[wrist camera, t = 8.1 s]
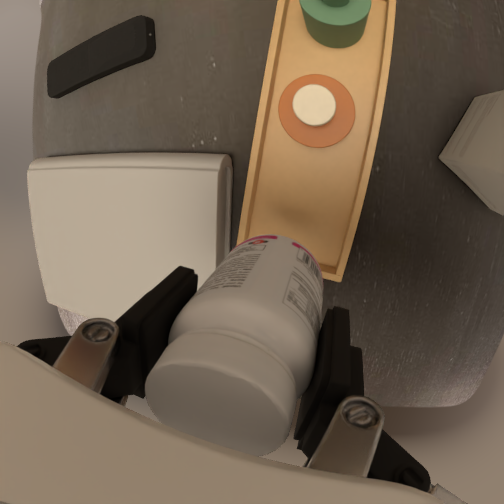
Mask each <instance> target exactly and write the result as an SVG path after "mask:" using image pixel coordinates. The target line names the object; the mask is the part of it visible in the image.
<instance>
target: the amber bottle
mask: <svg viewBox="0 0 504 504" xmlns="http://www.w3.org/2000/svg"><path fill="white" fill-rule="evenodd" d="M278 113H279V118H280V122H281V124H282V126H283V128H284V130H285V131H286V132H287V134H288V135H289V136H290V137H291V138H293V139H294V140H295V141H297V142H298V143H300V144H302V145H305V146H308V147H313V148H324V147H329V146H332V145H334V144H337V143H338V142H340V141H341V140H343V139H344V138H345V137H346V136H347V135H348V133H349V132H350V130H351V129H352V127H353V124H354V121H355V105H354V101H353V98H352V96H351V94H350V93H349V91H348V90H347V89H346V88H345V86H344V85H343V84H341V83H340V82H339V81H337V80H335V79H334V78H331V77H329V76H326V75H321V74H309V75H305V76H302V77H299V78H297V79H295V80H294V81H292V82H291V83H290V84H289V85H288V86H287V87H286V88H285V90H284V91H283V93H282V95H281V97H280V100H279V105H278Z"/></svg>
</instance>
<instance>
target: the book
mask: <svg viewBox="0 0 504 504" xmlns="http://www.w3.org/2000/svg"><path fill="white" fill-rule="evenodd" d="M27 181H28V193H29V204H30V211H31V220H32V227H33V234H34V240H35V246H36V252H37V257H38V262H39V267H40V272H41V276H42V281H43V285H44V290H45V293H46V298H47V301H48V303H51V304H53V305H56V306H58V307H61V308H63V309H66V310H69V311H71V312H74V313H77V314H79V315H82V316H85V317H87V318H90V319H92V318H107V319H109V320H112V321H113V322H115V321H116V320H117V319H118V318H119V317H120V316H122V315H123V314H124V313H125V312H126V311H127V310H128V309H129V308H130V307H132V306H133V305H134V304H135V303H136V302H137V301H138V300H139V299H141V298H142V297H143V296H144V295H145V294H146V293H147V292H149V291H151V290H152V289H153V288H154V287H155V286H157V285H158V284H159V283H160V282H161V281H162V280H163V279H165V278H166V277H167V276H168V275H169V274H170V273H171V272H173V271H174V270H175V269H176V268H177V267H178V266H184V267H187V268H191V269H194V272H195V274H198V286H197V291H198V290H199V288H200V287H201V286H202V285H203V284H204V282H205V281H206V280H207V279H208V278H209V277H210V275H211V274H212V273H213V272H214V271H215V270H216V268H217V267H218V266H219V265H220V264H221V263H222V261H223V260H224V259H225V258H226V257H227V255H228V254H229V253H230V241H231V213H232V189H233V167H232V160H231V158H230V156H229V155H227V154H207V153H107V154H86V155H70V156H57V157H46V158H38V159H35V160H34V161H33V162H32V163H31V164H30V166H29V170H28V171H27Z"/></svg>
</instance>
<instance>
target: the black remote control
mask: <svg viewBox="0 0 504 504" xmlns="http://www.w3.org/2000/svg"><path fill="white" fill-rule="evenodd" d="M154 51H155V39H154V22H153V20H152V19H151V18H149V17H145V16H142V15H141V16H136V17H134V18H132V19H129V20H127V21H125V22H123V23H120V24H118V25H116V26H114V27H112V28H110V29H108V30H106V31H104V32H102V33H100V34H98V35H96V36H94V37H92V38H90V39H88V40H86V41H85V42H83V43H81V44H79V45H78V46H76V47H74V48H72V49H71V50H69V51H67V52H66V53H64V54H62V55H61V56H59V57H57V58H56V59H54V60H53V61H51V62H50V63H49V66H48V69H47V88H48V96H49V97H51V98H60V97H62V96H64V95H66V94H67V93H69V92H71V91H73V90H75V89H77V88H80V87H82V86H84V85H86V84H88V83H90V82H92V81H94V80H97V79H99V78H101V77H104V76H106V75H108V74H111V73H113V72H115V71H118V70H120V69H123V68H125V67H128V66H131V65H133V64H136V63H139V62H141V61H144V60H147V59H149V58H150V57H152V55H153V54H154Z"/></svg>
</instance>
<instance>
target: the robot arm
mask: <svg viewBox="0 0 504 504" xmlns="http://www.w3.org/2000/svg"><path fill="white" fill-rule="evenodd" d="M197 286H198V274H195V272H194V269H191V268H187V267H184V266H178V267H177V268H176V269H175V270H174V271H173V272H171V273H170V274H169V275H168V276H167V277H166V278H165V279H163V280H162V281H161V282H160V283H159V284H158V285H157V286H155V287H154V288H153V289H152V290H151V291H149V292H147V293H146V294H145V295H144V296H143V297H142V298H141V299H139V300H138V301H137V302H136V303H135V304H134V305H133V306H132V307H130V308H129V309H128V310H127V311H126V312H125V313H124V314H123V315H122V316H120V317H119V318H118V319H117V320H116V321H115V322H113V321H112V320H109V319H107V318H92V319H88V320H86V321H84V322H83V323H82V324H81V325H80V326H79V327H78V328H77V330H76V331H75V333H74V334H73V336H66V337H56V338H47V339H35V340H28V341H25V342H23V343H21V344H19V345H18V346H14V345H12V344H9V343H7V342H4V341H0V504H467V503H466V502H464V501H462V500H461V499H460V498H458V497H457V496H455V495H454V494H452V493H451V492H449V491H448V490H446V489H445V488H443V487H442V486H440V485H439V484H436V485H435V486H433V485H432V484H431V482H430V476H429V474H428V471H427V470H426V469H425V468H424V467H423V466H422V465H421V464H420V463H419V462H417V460H415V459H414V458H413V457H412V456H411V455H410V454H409V453H407V451H405V450H404V449H403V448H402V447H401V446H400V445H399V444H398V443H397V442H396V441H395V440H393V439H392V438H391V437H390V436H389V435H388V434H387V433H386V432H385V431H384V430H383V429H382V427H383V424H384V413H383V410H382V408H381V407H380V406H379V404H377V403H376V402H375V401H374V400H372V399H370V398H368V397H365V396H364V381H363V361H362V350H361V348H358V347H354V346H350V321H349V310H348V309H344V308H340V307H336V306H334V308H333V310H332V309H327V312H326V315H325V318H324V321H323V324H322V327H321V330H320V332H319V339H318V347H317V355H316V362H315V368H314V373H313V376H312V379H311V382H310V384H309V386H308V388H307V389H306V391H305V392H304V393H303V394H302V398H301V403H300V408H299V414H298V419H297V424H296V428H295V433H294V439H295V440H299V442H298V447H297V449H300V450H302V451H303V453H304V454H305V455H306V456H307V457H308V458H307V460H306V461H305V463H304V465H303V467H300V466H295V465H290V464H286V463H281V462H277V461H273V460H269V459H265V458H261V457H257V456H254V455H250V454H247V453H243V452H240V451H236V450H233V449H230V448H227V447H224V446H220V445H217V444H214V443H211V442H208V441H205V440H203V439H200V438H197V437H194V436H192V435H189V434H186V433H184V432H181V431H178V430H176V429H173V428H171V427H168V426H166V425H164V424H161V423H159V422H156V421H154V420H152V419H150V418H147V417H145V416H143V415H141V414H139V413H136V412H134V411H132V410H130V409H128V408H126V407H125V405H126V402H127V399H128V395H133V394H134V395H136V396H138V397H141V398H144V397H145V396H146V395H145V383H146V379H147V377H148V375H149V373H150V372H151V370H152V369H153V367H154V366H155V364H156V363H157V361H158V360H159V358H160V357H161V355H162V353H163V352H164V350H165V349H166V347H167V346H168V338H169V333H170V329H171V327H172V324H173V322H174V320H175V319H176V317H177V316H178V314H179V313H180V311H181V310H182V309H183V308H184V306H185V305H186V304H187V303H188V302H189V300H190V299H191V298H192V297H193V296H194V294H195V293H196V292H197Z"/></svg>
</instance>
